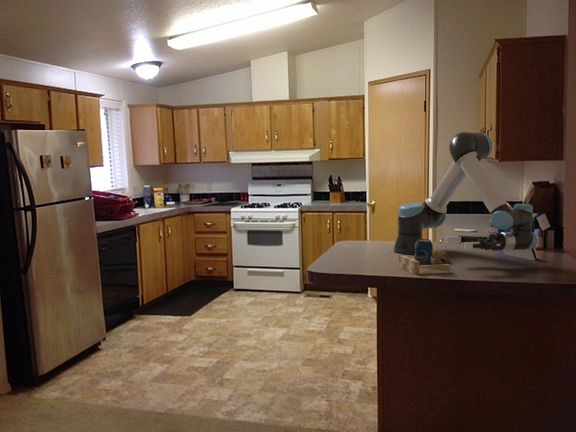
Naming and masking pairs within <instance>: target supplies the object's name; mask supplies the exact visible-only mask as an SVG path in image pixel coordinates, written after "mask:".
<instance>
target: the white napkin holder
mask: <svg viewBox="0 0 576 432" xmlns="http://www.w3.org/2000/svg"><path fill="white" fill-rule="evenodd" d="M503 255H506V256H509V257H516V258H520V259H523V260H529V261H536V260H541V256H540V255H539V254H538V252H537V249H536V247H535V248H533V249H527V250H508V251H505V250H503Z"/></svg>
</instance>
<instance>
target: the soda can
mask: <svg viewBox="0 0 576 432" xmlns="http://www.w3.org/2000/svg"><path fill="white" fill-rule="evenodd" d="M433 248H434V247H433V243H432V240H431V239H427V238H424V239H418V240H417V242H416V243H415V254H414V259H415V260H417V261H419V265H432V249H433Z"/></svg>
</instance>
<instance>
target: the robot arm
mask: <svg viewBox="0 0 576 432" xmlns="http://www.w3.org/2000/svg"><path fill="white" fill-rule="evenodd" d="M448 146H449V147H448V148H449V153H450V156H451V158H452V160H453V161H452V163H451V165H450V166H449V168H448V170H447V171H446V173H445V174H444V175H443V177H442V179H441V181H440V182H439V183H438V185H437V187H436V188H435V190H434V191H433V192H432V195H431V196H430V197H426V198H425V199H424V201H423V203H417V202H413V203H404V204H401V205H400V206H399V207H398V212H397V237H396V240H395V242H394V245H393V252H394V251H395V253H397V252H398V253H397V254H402V253H405V254H404V255H415V243H416V242H417V240H418V239H423V230H426V229H427V230H428V229H436V228H439V227H440V226H442V225H444V223H445V221H446V219H447V218H446V217H447V211H448V210H447V205H448V204H449V203H450V201H451V199H453V196H454V195H455V193H456V192H457V190H458V189H459V188H460V186H461V185H462V183H463V182H464V180H465V179H466V177H467V179H468V180H469V182H470V184H471V185H472V187H473V188H474V189H475V191H476V193H477V194H478V196H479V198H480V199H481V201H482V202H483V204H484V206H485V207H486V208H487V210H488V211H489V213H490V215H491V218H490V222H491V225H492V226H493V227H494V228H495V229H496V230H509V229H511V231H510V232H508V231H506V232H492V233H490V234H489V236H482V235H481V236H479V235H477V236H476V235H472V236H471V235H460V234H459V235H458V236H446V238H445V240H446V241H445V244H458V245H461V244H462V243H464V244H463V245H464V246H463V249H464V250H484V251H489V250H491V251H494V252H495V251H504V250H505V251H508V250H527V249H533V248H536V247H537V246H538V245H537V244H538V238H537V237H538V236H537V234H536V233H535V232H533V230H532V227H533V218H534V217H533V215H534V212H533V211H534V210H533V209H534V207H533V205H531V204H528V203H527V204H526V203H516V204H514V205H513V208H512V209H511V207H510V205H508V203H507V201H506V200H505V198H504V197H503V195H502V194H501V192H500V191H499V188H498V187H497V186H496V185H495V183H494V181H493V180H492V179H491V177H490V175H489V174H488V172H487V171H486V170H485V168H484V166H483V165H482V163H481V161H482V160H484V159H486V158H488V157H489V156H491V155H492V151H493V141H492V139H491V137H490V136H488V134H485V133H482V132H468V131H463V132H458V133H456V134H455V135H453V137H452V138H451V140H450V141H449V145H448Z"/></svg>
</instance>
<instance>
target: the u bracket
mask: <svg viewBox="0 0 576 432" xmlns="http://www.w3.org/2000/svg"><path fill="white" fill-rule="evenodd" d="M398 268H400V269H402V270H403V271H407V272H409V273H411V274H413V275H426V274H444V273H447V274H449V273H451V264H449V263H441V264H440V263H437V264H436V263H435V259H433V258H432V265H419V261H417V260H415V258H411V257H410V256H406V255H405V254H401V255H400V254H399V255H398Z"/></svg>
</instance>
